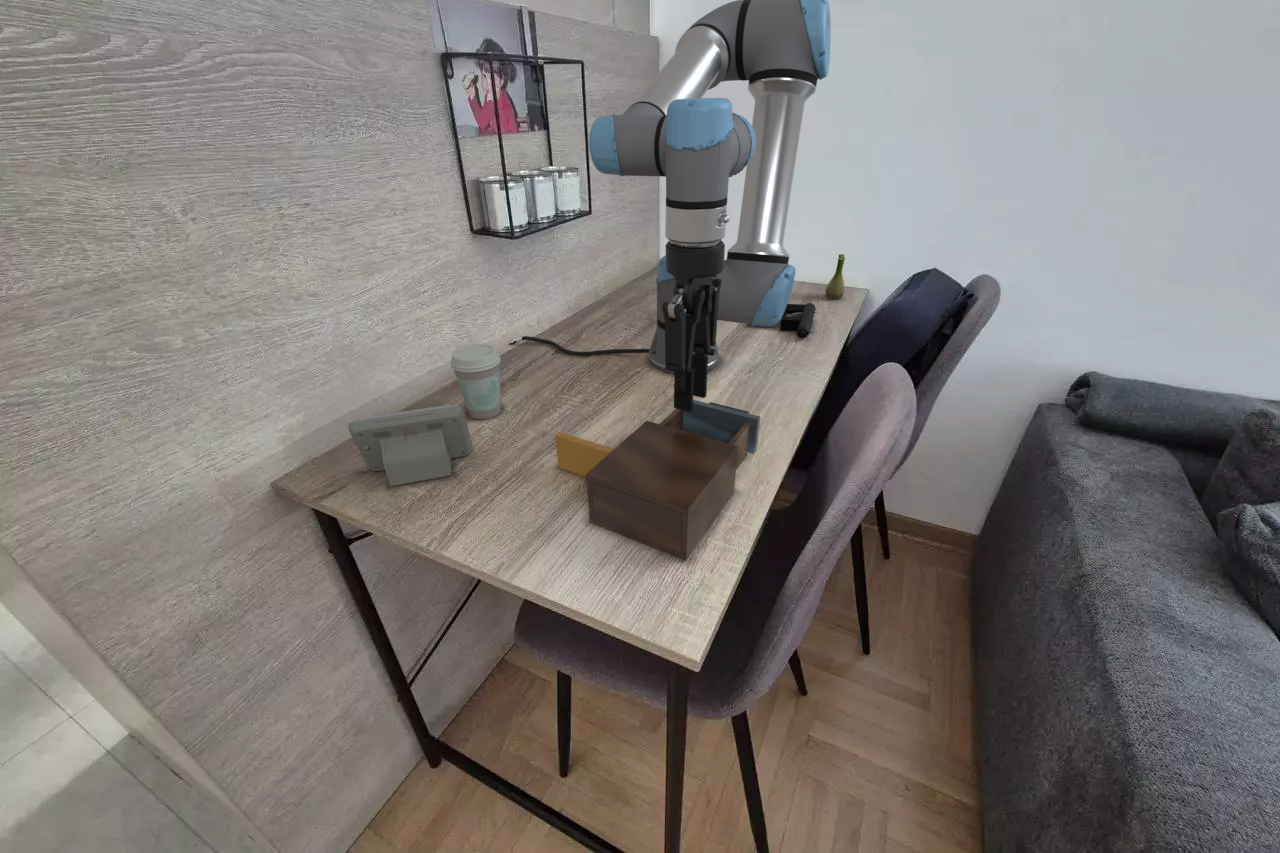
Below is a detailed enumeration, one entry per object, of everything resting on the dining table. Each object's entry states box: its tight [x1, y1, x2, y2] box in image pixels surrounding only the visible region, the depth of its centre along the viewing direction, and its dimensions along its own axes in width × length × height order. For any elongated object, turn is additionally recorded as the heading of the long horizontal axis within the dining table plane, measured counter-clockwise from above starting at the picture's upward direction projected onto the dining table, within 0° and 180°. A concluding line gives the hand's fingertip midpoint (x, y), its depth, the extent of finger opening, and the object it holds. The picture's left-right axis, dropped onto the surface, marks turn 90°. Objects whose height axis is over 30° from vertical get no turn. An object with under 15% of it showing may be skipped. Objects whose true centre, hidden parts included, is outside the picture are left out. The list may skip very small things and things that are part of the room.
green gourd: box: [825, 253, 846, 300], centre depth 151 cm, size 6×5×12 cm
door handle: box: [748, 302, 818, 340], centre depth 136 cm, size 3×20×16 cm
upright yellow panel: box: [554, 431, 615, 478], centre depth 82 cm, size 10×1×6 cm, turn 60°
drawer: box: [659, 399, 761, 470], centre depth 84 cm, size 19×13×6 cm
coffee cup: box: [450, 343, 502, 420], centre depth 98 cm, size 8×9×12 cm
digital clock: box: [347, 403, 473, 487], centre depth 83 cm, size 16×9×11 cm, turn 96°
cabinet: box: [585, 420, 738, 561], centre depth 74 cm, size 16×15×8 cm
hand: (690, 401), depth 81 cm, fingers open, 4 cm apart
